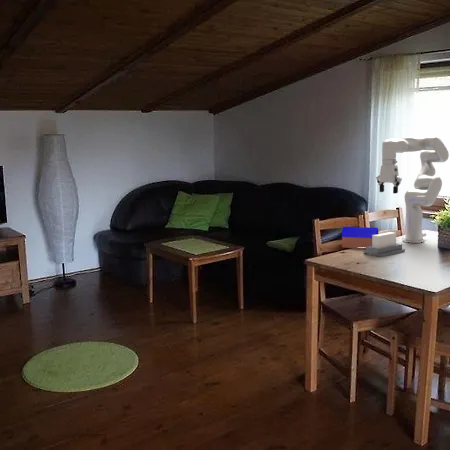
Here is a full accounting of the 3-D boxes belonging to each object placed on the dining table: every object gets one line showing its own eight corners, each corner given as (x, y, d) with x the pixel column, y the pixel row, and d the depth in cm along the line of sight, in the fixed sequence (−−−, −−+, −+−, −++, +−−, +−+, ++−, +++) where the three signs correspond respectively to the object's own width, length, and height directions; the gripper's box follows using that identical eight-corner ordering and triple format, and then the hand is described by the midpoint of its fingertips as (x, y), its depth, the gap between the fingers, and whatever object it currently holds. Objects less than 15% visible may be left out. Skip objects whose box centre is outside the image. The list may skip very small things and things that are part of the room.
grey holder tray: (387, 248, 315) (387, 241, 314) (404, 251, 305) (404, 244, 304) (363, 253, 304) (363, 246, 303) (380, 257, 294) (380, 249, 293)
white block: (390, 247, 310) (390, 231, 308) (396, 248, 307) (396, 232, 305) (372, 251, 302) (372, 235, 300) (377, 252, 299) (378, 236, 297)
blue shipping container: (376, 249, 314) (376, 229, 312) (341, 247, 321) (341, 228, 319) (378, 245, 325) (378, 225, 323) (344, 243, 332) (344, 224, 330)
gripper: (406, 162, 303) (405, 193, 306) (381, 161, 317) (380, 190, 320) (397, 163, 299) (396, 194, 302) (372, 162, 313) (372, 192, 316)
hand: (388, 192), depth 311 cm, fingers open, 9 cm apart
